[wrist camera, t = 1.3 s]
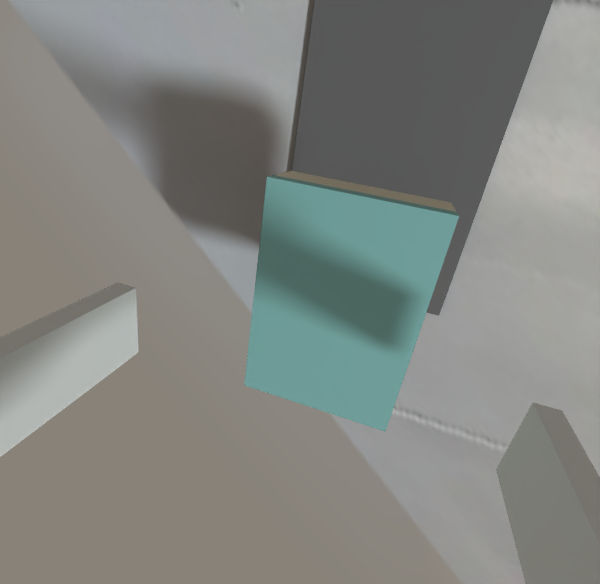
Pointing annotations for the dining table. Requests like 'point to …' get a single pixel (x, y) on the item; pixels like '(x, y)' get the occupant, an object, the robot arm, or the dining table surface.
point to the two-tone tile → (342, 292)
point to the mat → (415, 98)
